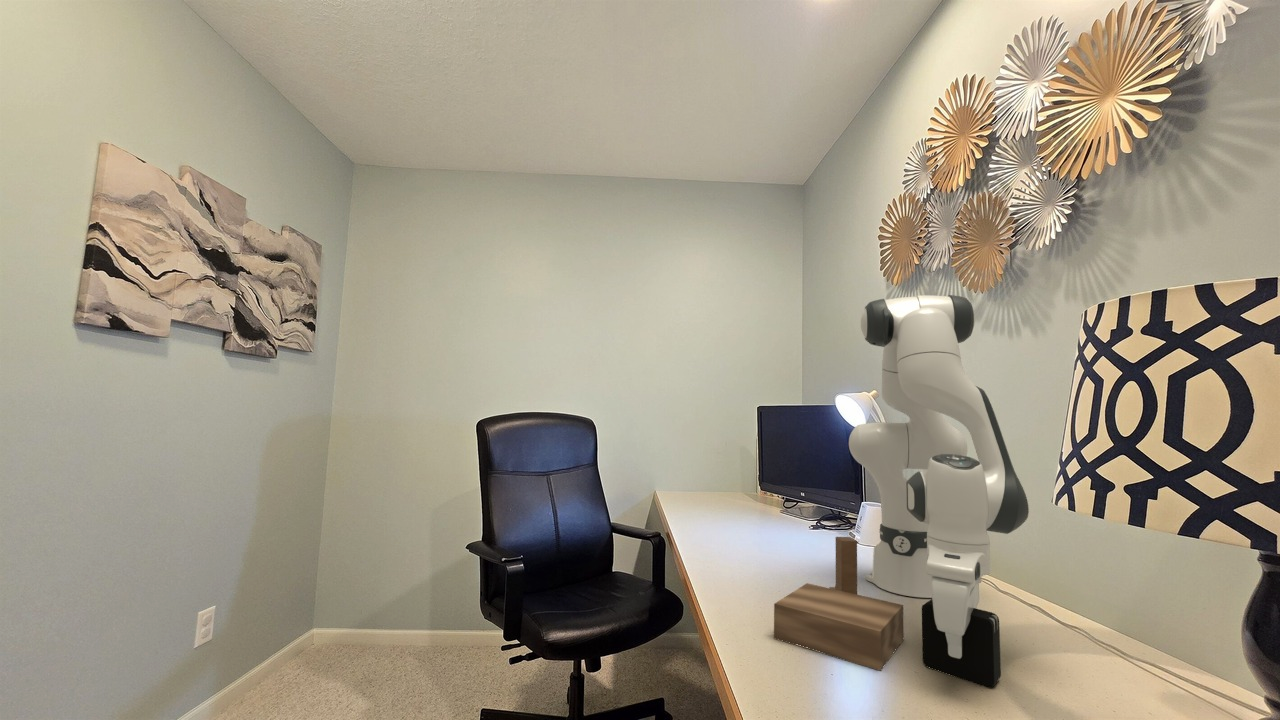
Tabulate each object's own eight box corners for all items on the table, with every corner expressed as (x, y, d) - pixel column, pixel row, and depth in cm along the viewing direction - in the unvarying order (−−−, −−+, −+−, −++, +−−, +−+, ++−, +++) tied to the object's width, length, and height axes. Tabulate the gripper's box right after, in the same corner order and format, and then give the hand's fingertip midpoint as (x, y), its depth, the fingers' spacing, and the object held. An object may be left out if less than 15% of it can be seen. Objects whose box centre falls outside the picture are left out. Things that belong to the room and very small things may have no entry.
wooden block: (857, 616, 108) (857, 540, 109) (842, 616, 107) (841, 540, 109) (844, 605, 114) (843, 533, 116) (828, 604, 114) (828, 532, 115)
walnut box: (806, 613, 108) (806, 583, 109) (903, 639, 97) (903, 605, 98) (773, 638, 96) (774, 603, 96) (880, 670, 85) (880, 631, 85)
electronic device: (931, 658, 90) (929, 596, 91) (1001, 681, 83) (999, 614, 84) (922, 666, 87) (921, 602, 88) (994, 690, 80) (992, 620, 81)
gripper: (946, 542, 97) (948, 621, 95) (923, 565, 81) (925, 661, 79) (987, 548, 93) (990, 631, 92) (972, 574, 77) (975, 675, 76)
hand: (960, 646), depth 85 cm, fingers open, 8 cm apart
